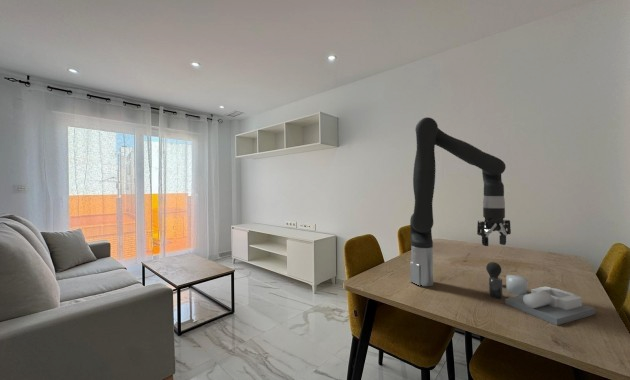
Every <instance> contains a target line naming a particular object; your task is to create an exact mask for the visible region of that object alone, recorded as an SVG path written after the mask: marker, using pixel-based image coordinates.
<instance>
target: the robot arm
mask: <svg viewBox="0 0 630 380" xmlns="http://www.w3.org/2000/svg"><path fill="white" fill-rule="evenodd" d="M415 135H416V136H415V138H416V151H415V158H414V164H413V174H412V183H413V184H412V185H413V194H414V195H413V196H414V207H413V213H412V214H411V216H410V228H409V229H410V244H411V245H410V246H411V248H410V249H411V252H410V253H411V254H410V255H411V256H410V257H411V261H410V262H409V282H410V281H412V282H413V283H415V284H417V285H419V286H418V287H431V286H434V243H433V236H432V229H433V227H434V213H433V211H434V210H433V202H434V201H433V200H434V193H435V185H436V184H435V183H436V155H435V154H436V153H435V146H437V147H439V148H441V149H442V150H445V151H447V152H449V153H450V154H452V155H454V156H455V157H456V158H458V159H460V160H462V161H464V163H467V164H468V165H471V166H475V167H477V168H478V169H480V170H482V171H481V172H482V173H481V174H482V179H483V180H482V181H483V201H482V210H483V211H482V213H483V214H482V216H483V218H484V221H482V220H478V221H477V225H476V226H477V227H476V228H477V229H476V230H477V231H476V232H477V233H476V234H477V235H478V236H481V244H482V246H484V247H489V235H490V234H491V233H493V232H498V234H499V245H501V246H505V245H506V244H507V236H508V235H511V234H512V232H511V231H512V228H511V220H509V219H505V218H506V201H505V186H504V183H503V181H502V180H503V179H502V174H503V173H504V172H505V170H506V168H507V167H506V163H505V162H504V161H503V160H502V159H501V158H499V157H497V156H494V155H492V154H490V153H487V152H485V151H482V150H481V149H479V148H478V147H476V146H474V145H472V144H471V143H468V142H466V141H464V140H461V139H459V138H456V137H453V136H451V135H449V134H447V133H446V132H444V131H443V130H441V129H440V128H439V125H438V123H437V121H436V120H435V119H434V118H432V117H429V116H428V117H424V118H422V119H420V120H419V121H418V122H417V124H416V126H415ZM413 283H412V284H413ZM415 284H414V285H415ZM417 285H416V286H417ZM420 285H422V286H420Z"/></svg>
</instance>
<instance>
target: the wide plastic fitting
mask: <svg viewBox="0 0 630 380" xmlns="http://www.w3.org/2000/svg"><path fill="white" fill-rule="evenodd" d="M505 277H506V279H505V281H506V292H508V293H510V294H512V295H515V296H520V295H524V294H528V278H527V277H524V276H523V275H522V276H521V275H517V274H507V275H506V276H505Z"/></svg>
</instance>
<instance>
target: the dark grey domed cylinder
mask: <svg viewBox="0 0 630 380" xmlns="http://www.w3.org/2000/svg"><path fill="white" fill-rule="evenodd" d="M488 294H489V295H488V296H489V297H491V298H493V299H497V300H498V299H499V300H501V299H503V279H502V278H500V277H498V278H496V277H490V276H489V277H488Z"/></svg>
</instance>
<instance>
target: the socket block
mask: <svg viewBox="0 0 630 380" xmlns="http://www.w3.org/2000/svg"><path fill="white" fill-rule="evenodd" d="M582 301H583V297H581V296H579V295H576V294H575V293H573V292H569V291H565V290H562V289H559V288H556V287H554V288H552V287H548V286H547V285H546V286H541V287H536V288H532V289H530V292H529V293H527V294H524V295H514V296H512V297H511V296H510V297H507V298H505V304H506V305H508V306H510V307H512V308H514V309H517V310H520V311H522V312H523V313H527V314H529V315H531V316H534V317H536V318H538V319H541V320H543V321H546V322H548V323H550V324H553V325H555V326H560V325H563V324H566V323H570V322H573V321H577V320H580V319H584V318H587V317H590V316H594V315H596V308H595V307H592V306H589V305H587V304H583V302H582ZM593 314H594V315H593Z"/></svg>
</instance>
